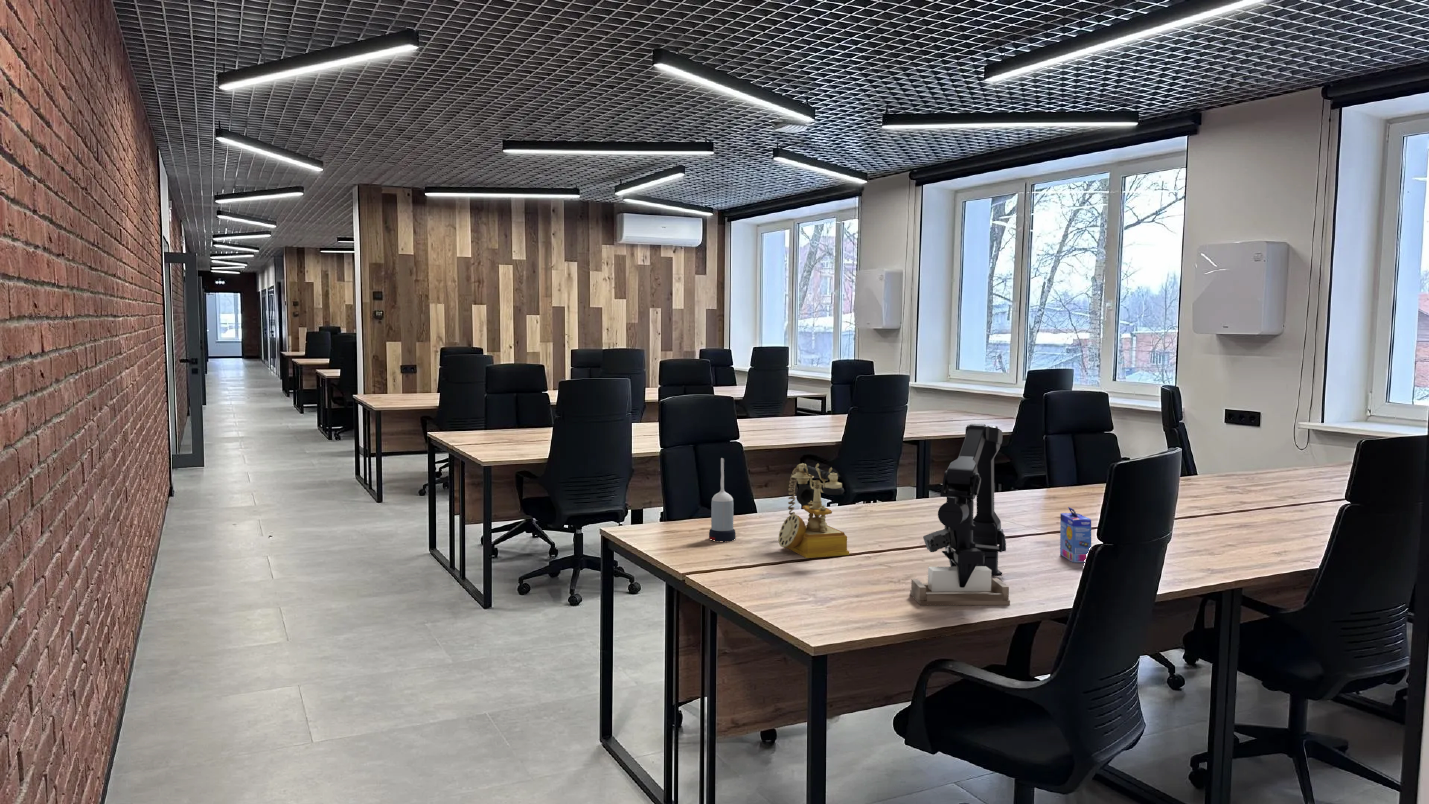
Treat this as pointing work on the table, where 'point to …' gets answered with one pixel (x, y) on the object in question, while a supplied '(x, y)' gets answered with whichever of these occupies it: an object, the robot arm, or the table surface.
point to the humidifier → (722, 514)
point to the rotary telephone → (816, 534)
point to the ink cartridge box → (1074, 536)
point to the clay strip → (948, 580)
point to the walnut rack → (961, 595)
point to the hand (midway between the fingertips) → (959, 584)
